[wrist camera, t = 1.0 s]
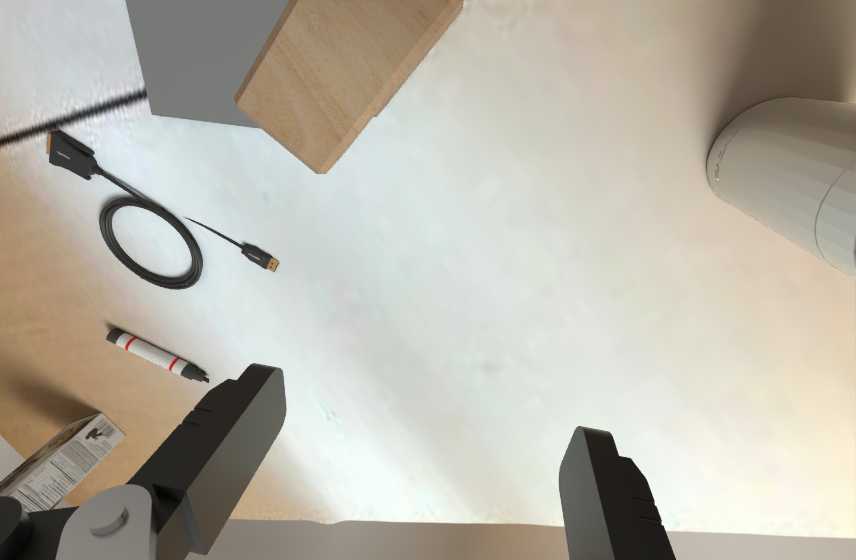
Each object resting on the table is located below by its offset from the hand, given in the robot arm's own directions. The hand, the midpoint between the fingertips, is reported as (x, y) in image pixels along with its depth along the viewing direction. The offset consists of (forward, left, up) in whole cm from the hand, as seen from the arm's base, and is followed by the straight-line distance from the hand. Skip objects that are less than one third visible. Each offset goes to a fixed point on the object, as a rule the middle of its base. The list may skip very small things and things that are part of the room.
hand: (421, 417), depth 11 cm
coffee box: (+59, +54, -32) cm, 87 cm away
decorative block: (+8, -10, -32) cm, 35 cm away
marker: (+42, +33, -33) cm, 63 cm away
